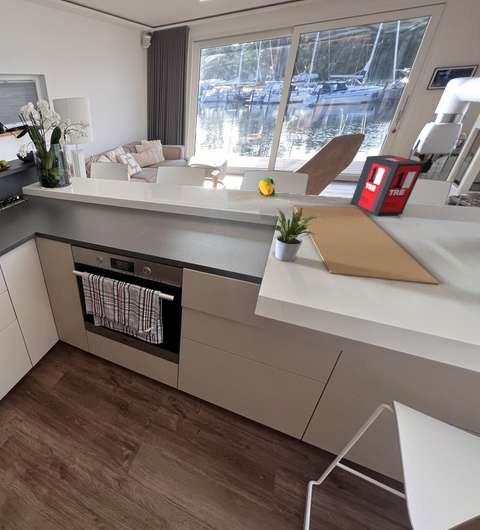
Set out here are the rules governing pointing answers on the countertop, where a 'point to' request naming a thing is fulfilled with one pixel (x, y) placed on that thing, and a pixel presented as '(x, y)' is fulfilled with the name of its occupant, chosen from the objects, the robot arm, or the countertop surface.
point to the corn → (267, 187)
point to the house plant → (291, 235)
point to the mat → (360, 246)
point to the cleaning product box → (386, 184)
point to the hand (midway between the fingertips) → (422, 172)
